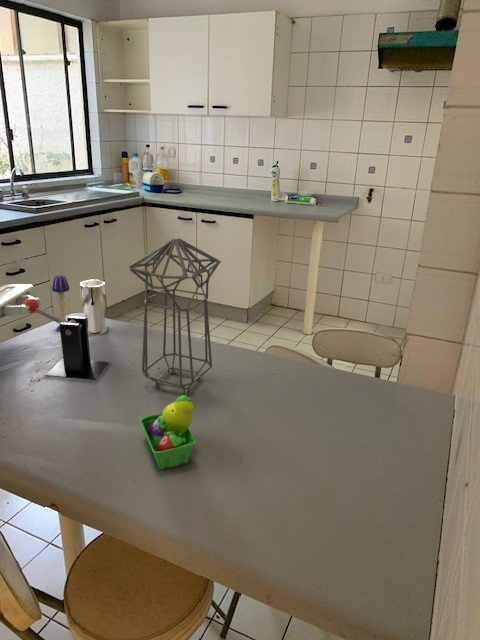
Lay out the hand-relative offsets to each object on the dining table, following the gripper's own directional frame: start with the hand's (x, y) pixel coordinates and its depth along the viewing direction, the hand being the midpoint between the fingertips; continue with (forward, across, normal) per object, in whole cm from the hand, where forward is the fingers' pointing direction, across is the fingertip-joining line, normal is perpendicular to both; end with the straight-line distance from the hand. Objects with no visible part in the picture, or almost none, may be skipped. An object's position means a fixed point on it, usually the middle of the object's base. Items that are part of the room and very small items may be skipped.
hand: (34, 306), depth 107 cm
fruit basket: (+38, +26, -17) cm, 49 cm away
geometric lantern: (+34, +2, -17) cm, 38 cm away
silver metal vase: (+4, -24, -17) cm, 30 cm away
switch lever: (+3, 0, -4) cm, 5 cm away
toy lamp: (-5, -23, -17) cm, 29 cm away
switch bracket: (+9, 0, -17) cm, 19 cm away
